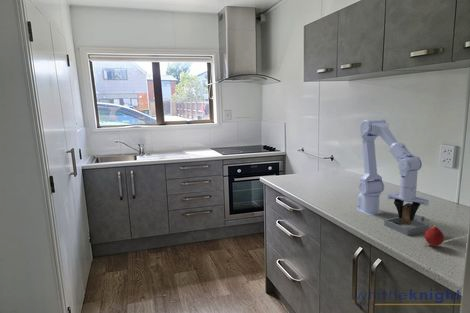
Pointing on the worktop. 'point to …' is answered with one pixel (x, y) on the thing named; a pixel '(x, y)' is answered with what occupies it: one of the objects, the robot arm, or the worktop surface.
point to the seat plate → (420, 218)
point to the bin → (418, 229)
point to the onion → (434, 236)
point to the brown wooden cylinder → (406, 214)
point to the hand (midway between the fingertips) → (406, 218)
